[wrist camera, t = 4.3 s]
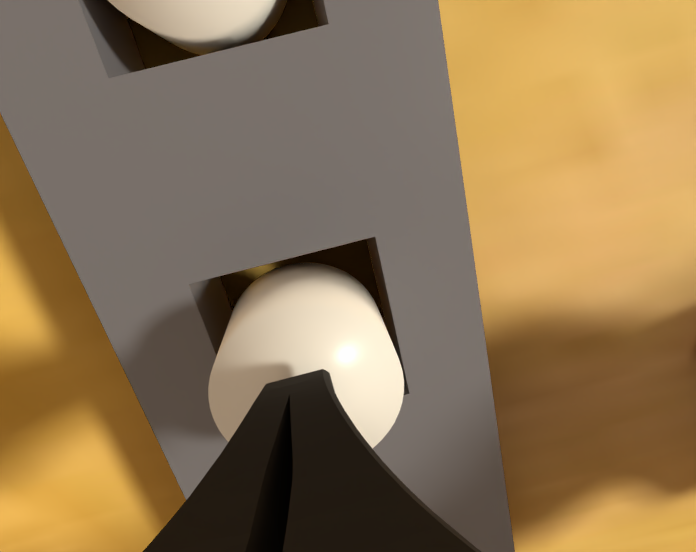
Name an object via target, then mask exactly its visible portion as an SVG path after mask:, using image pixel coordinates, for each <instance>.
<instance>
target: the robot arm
mask: <svg viewBox="0 0 696 552" xmlns="http://www.w3.org/2000/svg"><path fill="white" fill-rule="evenodd" d="M143 552H481V551H480V550H479V549H477V548H476V547H475V546H474V545H473V544H471V543H470V542H469V541H468V540H467V539H465V538H464V537H463V536H462V535H461V534H459V533H458V532H457V531H456V530H455V529H453V528H452V527H451V526H450V525H449V524H447V523H446V522H445V521H444V520H443V519H442V518H440V517H439V516H438V515H437V514H436V513H434V512H433V511H432V510H431V509H430V508H429V507H428V506H426V505H425V504H424V503H423V502H422V501H421V500H420V499H419V498H418V497H417V496H416V495H415V494H414V493H413V492H412V491H411V490H410V489H409V488H408V487H407V486H406V485H405V484H404V483H403V482H402V481H401V480H400V479H399V478H398V477H397V476H396V475H395V474H394V473H393V472H392V471H391V470H390V469H389V467H388V466H387V465H386V464H385V463H384V462H383V461H382V460H381V458H380V457H379V456H378V455H377V454H376V452H375V451H374V450H373V449H372V447H371V446H370V445H369V444H368V443H367V441H366V440H365V439H364V437H363V436H362V435H361V433H360V432H359V431H358V429H357V428H356V427H355V425H354V424H353V422H352V420H351V419H350V417H349V416H348V414H347V413H346V411H345V410H344V408H343V407H342V405H341V403H340V401H339V399H338V397H337V396H336V394H335V390H334V387H333V383H332V380H331V376H330V373H329V372H328V371H326V370H324V369H321V370H317V371H313V372H309V373H305V374H301V375H297V376H294V377H290V378H286V379H282V380H278V381H274V382H271V383H267V384H265V386H264V387H263V389H262V391H261V392H260V394H259V395H258V397H257V398H256V400H255V401H254V403H253V405H252V406H251V408H250V409H249V411H248V413H247V414H246V416H245V417H244V419H243V421H242V422H241V424H240V425H239V427H238V428H237V430H236V431H235V433H234V434H233V436H232V438H231V439H230V441H229V442H228V444H227V445H226V447H225V448H224V450H223V451H222V453H221V454H220V456H219V457H218V458H217V460H216V461H215V462H214V464H213V465H212V466H211V468H210V469H209V471H208V472H207V473H206V475H205V476H204V477H203V479H202V480H201V481H200V483H199V484H198V486H197V487H196V488H195V490H194V491H193V492H192V494H191V495H190V496H189V498H188V499H187V500H186V501H185V503H184V504H183V505H182V506H181V508H180V509H179V510H178V511H177V513H176V514H175V515H174V516H173V517H172V519H171V520H170V521H169V522H168V523H167V525H166V526H165V527H164V528H163V529H162V530H161V531H160V533H159V534H158V535H157V536H156V537H155V538H154V540H153V541H152V542H151V543H150V544H149V545H148V546H147V548H146V549H145V550H144V551H143Z"/></svg>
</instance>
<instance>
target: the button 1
mask: <svg viewBox="0 0 696 552" xmlns="http://www.w3.org/2000/svg"><path fill="white" fill-rule="evenodd" d="M108 1H109V2H110V3H111V4H112V5H113V6H115V7H116V8H117V9H118V10H119V11H121V12H122V13H124V14H125V15H126V16H128V17H129V18H131V19H132V20H134V21H136V22H137V23H139V24H140V25H142V26H144V27H145V28H147V29H149V30H150V31H152V32H154V33H155V34H157V35H159V36H160V37H162V38H164V39H165V40H167V41H168V42H170V43H172V44H174V45H175V46H177V47H179V48H181V49H183V50H186V51H188V52H191V53H195V54H198V55H205V54H210V53H214V52H218V51H222V50H226V49H230V48H234V47H238V46H242V45H246V44H250V43H254V42H258V41H261V40H263V39H264V38H265V37H266V36H267V35H268V34H269V33H270V31H271V30H272V29H273V28H274V26H275V25H276V23H277V22H278V20H279V18H280V17H281V15H282V13H283V10H284V8H285V6H286V3H287V0H108Z"/></svg>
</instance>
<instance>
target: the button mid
mask: <svg viewBox="0 0 696 552" xmlns="http://www.w3.org/2000/svg"><path fill="white" fill-rule="evenodd" d="M321 369H324V370H326V371H328V372H329V373H330V376H331V380H332V383H333V387H334V390H335V394H336V396H337V397H338V399H339V401H340V403H341V405H342V407H343V408H344V410H345V411H346V413H347V414H348V416H349V417H350V419H351V420H352V422H353V424H354V425H355V427H356V428H357V429H358V431H359V432H360V433H361V435H362V436H363V437H364V439H365V440H366V441H367V443H368V444H369V445H370V446H371V447H372V449H373V448H374V447H375V446H376V445H377V444H378V443H379V442H380V441H381V440H382V439H383V438H384V437H385V435H386V434H387V433H388V432H389V430H390V429H391V427H392V426H393V424H394V423H395V420H396V418H397V416H398V414H399V411H400V408H401V405H402V401H403V395H404V378H403V371H402V367H401V364H400V361H399V358H398V356H397V353H396V351H395V348H394V346H393V343H392V341H391V339H390V336H389V334H388V331H387V329H386V326H385V324H384V322H383V319H382V317H381V314H380V312H379V309H378V307H377V305H376V303H375V301H374V299H373V297H372V296H371V294H370V293H369V291H368V290H367V289H366V288H365V287H364V286H363V284H362V283H360V282H359V281H358V280H357V279H356V278H354V277H353V276H351V275H350V274H348V273H347V272H345V271H342V270H340V269H338V268H336V267H332V266H329V265H325V264H320V263H309V262H305V263H294V264H289V265H284V266H281V267H278V268H275V269H273V270H271V271H269V272H267V273H265V274H264V275H262V276H260V277H259V278H257V279H256V280H255V281H254V282H253V283H252V284H250V285H249V286H248V288H247V289H246V290H245V291H244V292H243V293H242V295H241V296H240V298H239V299H238V301H237V303H236V305H235V307H234V310H233V312H232V315H231V318H230V321H229V323H228V326H227V329H226V332H225V334H224V337H223V340H222V343H221V345H220V348H219V351H218V354H217V356H216V359H215V362H214V365H213V368H212V371H211V374H210V379H209V386H208V399H209V405H210V410H211V413H212V416H213V419H214V421H215V423H216V425H217V427H218V429H219V431H220V432H221V434H222V435H223V436H224V438H225V439H226V440H227V441H228V442H229V441H230V439H231V438H232V436H233V434H234V433H235V431H236V430H237V428H238V427H239V425H240V424H241V422H242V421H243V419H244V417H245V416H246V414H247V413H248V411H249V409H250V408H251V406H252V405H253V403H254V401H255V400H256V398H257V397H258V395H259V394H260V392H261V391H262V389H263V387H264V386H265V384H267V383H271V382H274V381H278V380H282V379H286V378H290V377H294V376H297V375H301V374H305V373H309V372H313V371H317V370H321Z"/></svg>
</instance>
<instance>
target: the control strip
mask: <svg viewBox="0 0 696 552" xmlns="http://www.w3.org/2000/svg"><path fill="white" fill-rule="evenodd" d="M312 1H313V6H314V10H315V15H316V19H317V23H318V27H315V28H311V29H307V30H303V31H299V32H295V33H291V34H287V35H283V36H279V37H275V38H271V39H266V40H262V41H258V42H254V43H250V44H246V45H242V46H238V47H234V48H230V49H226V50H222V51H218V52H214V53H210V54H205V55H201V56H197V57H193V58H189V59H185V60H181V61H177V62H173V63H169V64H165V65H161V66H157V67H153V68H149V69H145V67H144V65H143V62H142V59H141V56H140V53H139V51H138V48H137V45H136V42H135V40H134V37H133V34H132V31H131V28H130V26H129V23H128V20H127V17H126V15H125V14H124V13H122V12H121V11H119V10H118V9H117V8H116V7H115V6H113V5H112V4H111V3H110V2H109V1H108V0H0V113H1V115H2V117H3V120H4V122H5V124H6V126H7V128H8V130H9V132H10V134H11V136H12V138H13V140H14V142H15V144H16V147H17V149H18V151H19V153H20V155H21V157H22V159H23V161H24V163H25V165H26V167H27V169H28V172H29V174H30V176H31V178H32V180H33V182H34V184H35V186H36V188H37V190H38V192H39V194H40V197H41V199H42V201H43V203H44V205H45V207H46V209H47V211H48V213H49V215H50V217H51V219H52V222H53V224H54V226H55V228H56V230H57V232H58V234H59V236H60V238H61V240H62V242H63V244H64V247H65V249H66V251H67V253H68V255H69V257H70V259H71V261H72V263H73V265H74V267H75V269H76V272H77V274H78V276H79V278H80V280H81V282H82V284H83V286H84V288H85V290H86V292H87V294H88V296H89V299H90V301H91V303H92V305H93V307H94V309H95V311H96V313H97V315H98V317H99V319H100V321H101V324H102V326H103V328H104V330H105V332H106V334H107V336H108V338H109V340H110V342H111V344H112V346H113V349H114V351H115V353H116V355H117V357H118V359H119V361H120V363H121V365H122V367H123V369H124V371H125V374H126V376H127V378H128V380H129V382H130V384H131V386H132V388H133V390H134V392H135V394H136V396H137V399H138V401H139V403H140V405H141V407H142V409H143V411H144V413H145V415H146V417H147V419H148V421H149V424H150V426H151V428H152V430H153V432H154V434H155V436H156V438H157V440H158V442H159V444H160V446H161V449H162V451H163V453H164V455H165V457H166V459H167V461H168V463H169V465H170V467H171V469H172V471H173V473H174V476H175V478H176V480H177V482H178V484H179V486H180V488H181V490H182V492H183V494H184V496H185V498H186V500H187V499H188V498H189V496H190V495H191V494H192V492H193V491H194V490H195V488H196V487H197V486H198V484H199V483H200V481H201V480H202V479H203V477H204V476H205V475H206V473H207V472H208V471H209V469H210V468H211V466H212V465H213V464H214V462H215V461H216V460H217V458H218V457H219V456H220V454H221V453H222V451H223V450H224V448H225V447H226V445H227V444H228V441H227V440H226V439H225V438H224V436H223V435H222V434H221V432H220V431H219V429H218V427H217V425H216V423H215V421H214V419H213V416H212V413H211V410H210V405H209V399H208V386H209V379H210V374H211V371H212V368H213V365H214V362H215V359H216V356H217V354H218V351H219V348H220V345H221V343H222V340H223V337H224V334H225V332H226V329H227V326H228V323H229V321H230V318H231V315H232V309H231V307H230V304H229V301H228V298H227V295H226V293H225V290H224V287H223V284H222V282H221V279H220V276H222V275H226V274H230V273H234V272H238V271H242V270H246V269H250V268H254V267H258V266H261V265H265V264H269V263H273V262H277V261H281V260H285V259H289V258H293V257H297V256H301V255H305V254H309V253H313V252H316V251H320V250H324V249H328V248H332V247H336V246H340V245H344V244H348V243H352V242H356V241H360V240H364V239H366V240H367V244H368V249H369V253H370V257H371V262H372V266H373V271H374V275H375V279H376V284H377V288H378V293H379V297H380V302H381V306H382V310H383V315H384V319H385V324H386V328H387V331H388V334H389V336H390V339H391V341H392V343H393V346H394V348H395V351H396V353H397V356H398V358H399V361H400V364H401V367H402V371H403V378H404V395H403V401H402V405H401V408H400V411H399V414H398V416H397V418H396V420H395V423H394V424H393V426H392V427H391V429H390V430H389V432H388V433H387V434H386V435H385V437H384V438H383V439H382V440H381V441H380V442H379V443H378V444H377V445H376V446H375V447H374V448H373V450H374V451H375V452H376V454H377V455H378V456H379V457H380V458H381V460H382V461H383V462H384V463H385V464H386V465H387V466H388V467H389V469H390V470H391V471H392V472H393V473H394V474H395V475H396V476H397V477H398V478H399V479H400V480H401V481H402V482H403V483H404V484H405V485H406V486H407V487H408V488H409V489H410V490H411V491H412V492H413V493H414V494H415V495H416V496H417V497H418V498H419V499H420V500H421V501H422V502H423V503H424V504H425V505H426V506H428V507H429V508H430V509H431V510H432V511H433V512H434V513H436V514H437V515H438V516H439V517H440V518H442V519H443V520H444V521H445V522H446V523H447V524H449V525H450V526H451V527H452V528H453V529H455V530H456V531H457V532H458V533H459V534H461V535H462V536H463V537H464V538H465V539H467V540H468V541H469V542H470V543H471V544H473V545H474V546H475V547H476V548H477V549H479V550H480V551H481V552H515V549H514V542H513V535H512V528H511V521H510V514H509V506H508V499H507V492H506V485H505V478H504V470H503V463H502V456H501V449H500V442H499V435H498V427H497V420H496V413H495V406H494V399H493V392H492V384H491V377H490V370H489V363H488V356H487V348H486V341H485V334H484V327H483V320H482V313H481V305H480V298H479V291H478V284H477V277H476V269H475V262H474V255H473V248H472V241H471V234H470V226H469V219H468V212H467V205H466V198H465V190H464V183H463V176H462V169H461V162H460V155H459V147H458V140H457V133H456V126H455V119H454V111H453V104H452V97H451V90H450V83H449V76H448V68H447V61H446V54H445V47H444V40H443V32H442V25H441V18H440V11H439V4H438V0H312Z"/></svg>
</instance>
